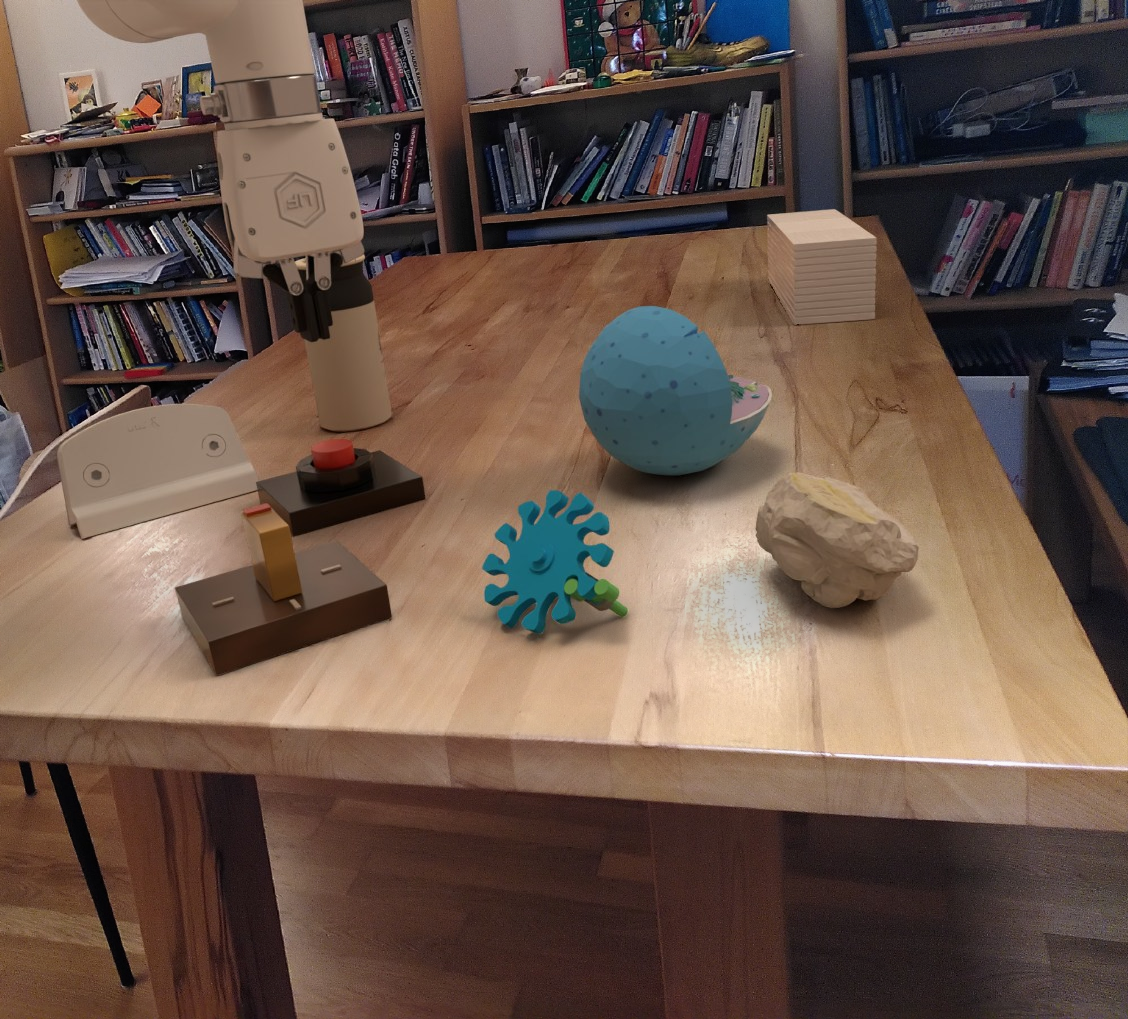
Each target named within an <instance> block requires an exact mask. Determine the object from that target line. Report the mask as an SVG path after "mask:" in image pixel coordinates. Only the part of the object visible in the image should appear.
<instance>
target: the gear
mask: <svg viewBox="0 0 1128 1019" xmlns="http://www.w3.org/2000/svg"><path fill="white" fill-rule="evenodd" d="M569 500H570V498H569V497H568V496H567V495H566V494H565V493H563V492H561V491H560V490H557V489H556V490H555V489H550V490H549V491H548V492H547V494H546V496H545V505H544V510H543V512H542V514H541V506H540V505H539V504H538V503H536V501H534V500H528V501H525V502H523V503H521V504H519V505H518V509H517V513H518V515H519V517H520V518H521V532H520V535H519V537H518V539H517V536H518V531H517V529H516V528H515V527H513V526H512V525H510V524H509V523H507V522H505V523H503V524H502V525H501V526H499V528H498V529H497V530H496V532H494V537H495V539H496V540H497V541H499V542H500V543H502V544H503V545H505V546H506V548H507V550H508V553H509V558H508V560H506V562H504V559H502V558H501V557H500V556H498V555H496V554H495V553H488V555H487V556H486V558H485V559H484V562H483V565H482V567H481V569H482V570H483V571H484V572H485V573H487V574H489V575H490V576H493V577H495V576H499V575H507V578H508V580H507V582H506V584H505V585H504V586H502V587H500V586H498V585H497V584H495V583H489V584H487V585H486V586H484V592H483V593H484V594H483V596H484V597H483V598H484V602H485V603H487V604H489V605H490V606H492V607H497V606H499V605H501V604H502V603H503V602H504V601H505V600H507V599H509V598H511V597H515V596H517V600H516V601H515V602H514V603H513V604H509V605H503V606H501V607H500V608H499V609H498V610H497V612H496V615H497V618H498V620H499V621H500V622H501V623H502V625H504V626H505V627H507V628H509V629H513V628H515V627H516V626H517V625H518V623H519V622H520V619H521V618H522V616H523V614H524V613H525V612H526V611H527V610H528V609H529V608H531V607H532V606H534V605H535V607H534V609H533V610H531V611H530V612H528V613H527V614H526V615H525V616H524V617H523V618H522V620H521V627H523V629H525V630H527V631H529V632H532V633H533V634H537V635H541V634H543V633H544V631H545V629H546V620H547V615H548V612H549V609H550V608H551V606H552V605H553V603H554V602H555V600H556V599H557V598H558V599H557V602H556V604H555V605H554V607H553V608H552V610H551V619H552V620H553V621H555V622H556V623H558V624H560V625H565V624H568V623H571V622H573V621H575V620H576V616H577V612H576V610H575V608H574V607H573V603H572V599H574V600H576V601H578V602H583V601H584V602H585V603H586V604H588V605H589V606H591V607H593V608H594V609H595V610H597V611H600V612H605V611H608V610H609V611H611V612H613V613H614V614H616V615H617V616H618V617H620V618H624V617H626V616H627V615H628V613H629V609H628V607H627V606H625V605H624V604H622V603H621V602H620V601H618V598H619V597H620V589H619V587H617V586H616V585H614V584H613V583H612V582H610V581H609V580H607V579H605V578H601V579H599V578H596V577H595V576H593V575H591V574H590V573H589V572H587V571H586V569H585V567H584V566H585V565H584V563H585V561H586V559H587V558H588V557H590V558H591V560H592V561H593V562H594V563H595V564H597V565H598V566H599V567H601V568H608V567H609V565H610V563H611V562H612V559H613V556H614V553H615V550H614V549H612V548H611V546H608V545H607V544H605V543H604V542H601V543H597V544H586V543H585V542H584V541H585V538H586V536H587V535H588V534H590V533H594V534H596V535H598V536H601V537H602V536H603V537H604V536H606V535H608V534H609V532H610V526H611V524H610V520H609V517H608V516H607V515H606V514H604V513H603V512H602V511H598V512H595V513H593V514H592V515H591V516H590V517H589V518H587V519H586V520H584V521H582V522H579V523H574V522H575V520H576V519H577V518H578V517H580V516H586V515H589V514H591V513H592V512H593V510H595V505H594V503H593V502H592V500H591V499H590V498H588V497H587V496H586V495H584V493H583V492H577V494H575V495H574V496H573V498H572V500H571V503H570V504H569V505H568V503H569ZM566 506H567V508H566ZM565 508H566V509H565ZM563 509H565V510H564V511H563V512H562V513H561V514H559V515H558V516H557V514H558V513H559V512H560V511H562V510H563ZM540 514H541V515H540ZM539 516H540V517H539ZM537 519H538V520H537ZM536 521H537V522H536Z"/></svg>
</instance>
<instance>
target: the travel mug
mask: <svg viewBox="0 0 1128 1019" xmlns="http://www.w3.org/2000/svg"><path fill="white" fill-rule="evenodd" d="M365 259H366V256H365V254H363V255H362V256H361V257H359V258H357V259H355V260H352V261H350V262H348V263H345V264H343V265H341V267H340V268H339V270H338V272H337V273H336V275H335V276H334V278H333V279H332V281H331V286H330V288H329V289H327V293H328V298H329V303H330V309H331V314H332V320H333V325H332V326H329V332H330V339H326V340H323V339H318V341H316V342H309V341H307V340H305V339H303V341H304V347H305V351H306V357H307V362H308V367H309V368H308V369H309V373H310V378H311V384H312V389H313V396H314V400H315V405H316V411H317V416H318V422H319V426H320V427H321V428H323V429H325V430H328V431H331V432H336V433H349V432H356V431H363V430H368V429H372V428H374V427H377V426H380V425H382V424H384V423H385V422H386V421H388V420H389V419H390V418H391V417H392V416H393V412H392V406H391V398H390V393H389V389H388V381H387V374H386V368H385V362H384V356H383V349H382V344H381V343H382V342H381V336H380V335H381V334H380V330H379V324H378V323H379V322H378V316H377V311H376V304H375V298H374V292H373V285H372V283H371V282H370V281H369V280H368V278H367V276H366V275H365V274H364V260H365ZM294 261H295V260H294ZM295 264H296V266H297V269H298V272H299V275H300V278H301V281H302V284H303V285H304V286H305V288H306V281H307V277H306V257H305V258H301V259H298V260H296V261H295Z"/></svg>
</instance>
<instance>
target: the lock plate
mask: <svg viewBox="0 0 1128 1019" xmlns="http://www.w3.org/2000/svg"><path fill="white" fill-rule="evenodd" d="M294 553H295V558H296V562H297V567H298V572H299V577H300V582H301V587H302V593H300V594H297V595H294V596H290V597H287V598H284V599H280V600H277V601H273V599H272V598H271V597H270V595H269V594H268V593H267V592H266V590H265V589H264V588H263V587H262V585H261V584H260V583H259V581H258V580H257V579H256V578H255V574H254V570H253V565H252V564H250V565H247V566H243V567H239V568H237V569H236V568H235V569H233V570H229V571H226V572H224V573H219V574H216V575H213V576H209V577H206V578H205V577H204V578H202V579H199V580H195V581H192V582H189V583H185V584H182V585H178V586H175V587H174V591H175V594H176V599H177V602H178V606H179V611H180V614H181V618H182V620H183V622H184V624H185V626H186V627H187V628H188V630H189V632H190V633H191V635H192V637H193V638H194V640H195V642H196V644H197V646H198V647H199V648H200V650H201V652H202V654H203V656H204V657H205V658H206V661H207V662H208V663H209V666H210V668H211V669H212V670H213V672H214V674H215V676H221V675H223V674H226V673H231V672H232V671H233V672H234V671H236V670H239V669H241V668H245V667H247V666H250V665H253V664H257V663H259V662H262V661H266V660H268V659H272V658H274V657H278V656H280V655H283V654H286V653H289V652H292V651H295V650H298V649H301V648H304V647H307V646H311V645H313V644H316V643H319V642H323V641H325V640H328V639H331V638H334V637H337V636H340V635H343V634H346V633H349V632H352V631H355V630H358V629H361V628H364V627H367V626H369V625H372V624H373V625H374V624H376V623H379V622H383V621H385V620H388V619H390V618H391V619H392V618H393V613H392V608H391V601H390V597H389V596H390V595H389V591H388V584H386V583H385V582H384V581H383V580H382V579H381V578H380V577H379V576H377V575H376V574H375V572H373V571H372V570H371V569H369V567H367V566H366V565H365V564H364V563H363V562H362V561H361V560H360V559H359V558H358V557H356V556H355V555H354V554H353V553H352V552H351V551H350V550H349V549H347V548H346V547H345V546H344V545H343V544H342V543H340V541H338V540H337V539H336V540H332V541H328V542H325V543H322V544H318V545H316V546H312V547H309V548H305V549H301V550H298V551H294Z"/></svg>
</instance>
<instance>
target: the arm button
mask: <svg viewBox="0 0 1128 1019" xmlns="http://www.w3.org/2000/svg"><path fill="white" fill-rule="evenodd" d="M354 448H355V447H354V444H353V441H352V440H350V439H347V438H335V439H334V438H333V439H328V440H324V441H323V440H322V441H320V442H317V443H315V444H314V445H312V446H311V448H310V452H311V455H312V457H313V463H314V468H321V469H327V468H337V467H341V466H345V465H349V464H351V463H353V462H354V461H356V460H355V454H354Z"/></svg>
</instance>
